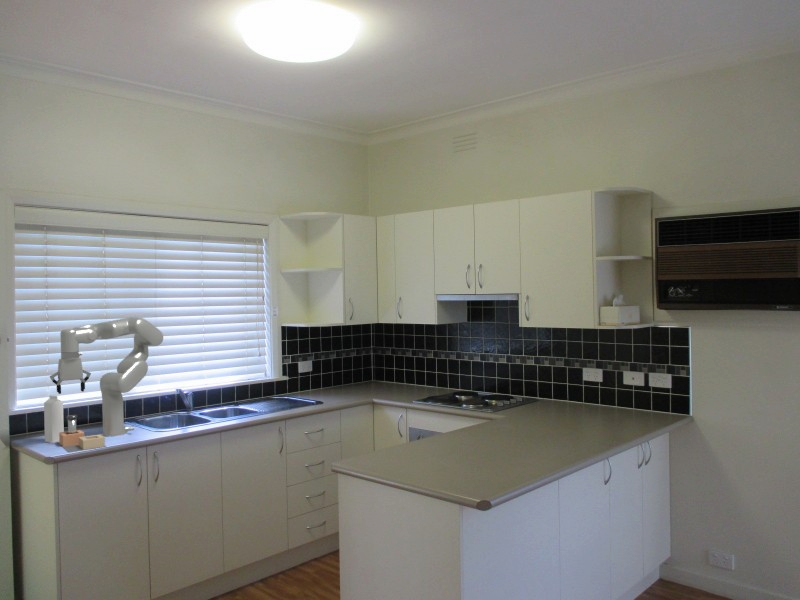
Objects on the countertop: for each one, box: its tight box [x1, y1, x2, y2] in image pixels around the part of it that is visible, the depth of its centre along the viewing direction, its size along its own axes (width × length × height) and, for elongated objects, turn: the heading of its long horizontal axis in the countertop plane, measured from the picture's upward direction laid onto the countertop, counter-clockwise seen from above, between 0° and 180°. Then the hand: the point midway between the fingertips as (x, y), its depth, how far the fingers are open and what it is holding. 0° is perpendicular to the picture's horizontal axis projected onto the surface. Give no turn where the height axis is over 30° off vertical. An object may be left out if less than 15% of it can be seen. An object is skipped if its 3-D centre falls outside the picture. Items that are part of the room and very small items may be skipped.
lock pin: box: [66, 414, 78, 434], centre depth 307 cm, size 4×4×13 cm
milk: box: [43, 395, 65, 444], centre depth 318 cm, size 6×6×22 cm
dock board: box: [57, 429, 107, 453], centre depth 304 cm, size 16×24×6 cm, turn 37°
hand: (71, 392), depth 307 cm, fingers open, 9 cm apart
